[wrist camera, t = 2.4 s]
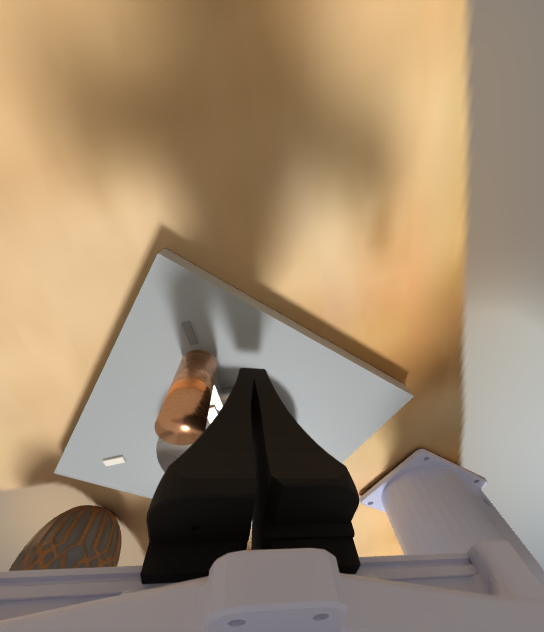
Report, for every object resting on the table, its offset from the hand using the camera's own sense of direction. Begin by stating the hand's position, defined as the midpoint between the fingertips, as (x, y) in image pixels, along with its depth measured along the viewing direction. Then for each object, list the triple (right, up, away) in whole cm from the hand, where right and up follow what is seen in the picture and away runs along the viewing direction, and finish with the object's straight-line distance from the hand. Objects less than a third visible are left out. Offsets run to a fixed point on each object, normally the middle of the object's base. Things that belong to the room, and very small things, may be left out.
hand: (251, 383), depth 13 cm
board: (-2, -4, +5) cm, 7 cm away
